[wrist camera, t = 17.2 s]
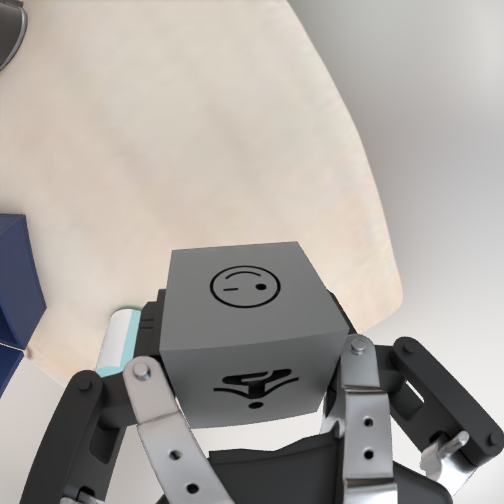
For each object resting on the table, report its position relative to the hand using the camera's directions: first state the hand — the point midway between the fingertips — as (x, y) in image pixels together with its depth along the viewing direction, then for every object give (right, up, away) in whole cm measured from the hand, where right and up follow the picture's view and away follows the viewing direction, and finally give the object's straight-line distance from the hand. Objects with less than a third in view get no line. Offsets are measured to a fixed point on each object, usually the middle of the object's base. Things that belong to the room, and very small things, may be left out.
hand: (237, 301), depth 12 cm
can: (-16, -8, +23) cm, 29 cm away
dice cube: (0, 0, +1) cm, 1 cm away
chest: (-34, +1, +15) cm, 37 cm away
